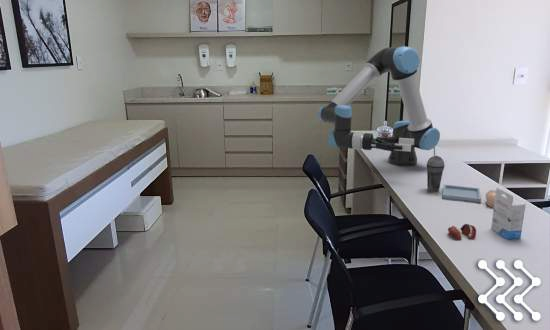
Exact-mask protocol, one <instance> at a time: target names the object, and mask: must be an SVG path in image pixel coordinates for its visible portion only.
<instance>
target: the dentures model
mask: <svg viewBox="0 0 550 330" xmlns="http://www.w3.org/2000/svg"><path fill="white" fill-rule="evenodd" d="M447 231H448V232H447V233H448V234H449V235H451V236H452V237H453V238H454V239H456V240H457V241H460V240H462V237H463V234H464V235H467V236H468V238H469V239H472V240H475V238H476V236H477V229H476V227H475V226H474V225H471V224H469V223H464V224H463V225H462V226H461V227H460V228H459V227H458V226H456V225H454V224H453V225H452V226H450V227H448V229H447Z"/></svg>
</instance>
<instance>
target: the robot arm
mask: <svg viewBox="0 0 550 330" xmlns="http://www.w3.org/2000/svg"><path fill="white" fill-rule="evenodd" d="M419 64H420V56H419V53H418V51H417V50H416V49H415V48H413V47H410V46H405V45H403V46H395V47H392V46H390V47H385V48H383V49H381V50H378V51H377V52H376V53H375V54H374V55H372V56H371V57H370V58H369V59H368V60H367V61H366V62H365V63H364V65H363V66H364V67H363V68H362V69H361V70H360V72H359V73H358V74H356V76H355V77H353V78H352V80H351V81H349V82H348V84H347V85H346V86H345V87H343V88H342V90H341V91H340V92H339V93H338V94H336V96H335V97H334V98H333V99H332V100H331V101H330V102H329V103H328V104H327V105H324V106H321V107H319V109H318V110H317V116H318V119H319V120H320V121H322V122H324V123H329V124H332V125H333V126H334V129H333V130H331V131H330V132H329V136H328V144H329V146H330V147H332V148H338V149H352V150H353V149H354V150H355V151H358V150H362V149H363V151H364V150H366V151H372V150H373V149H377V150H383V151H388V152H390V153H389V156H388V163H389V164H392V165H395V166H406V167H407V166H415V165H417V164H418V157H417V153H416V149H419V150H421V151H423V150H424V151H432V150H434V146H435V147H436V146H437V145H438V144H439V141H440V140H441V133H440V130H439V129H438V128H436V127H433V122H432V120H431V119H430V118H428V117H427V114H426V109H425V107H424V103H423V99H422V96H421V92H420V89H419V86H418V82H417V78H416V74H417V72H418V67H420V65H419ZM385 73H386V74H387V73H390V76H391V79H392V81H394V82H396V83H397V87H398V90H399V94H400V96H401V97H400V98H401V100H402V103H403V106H404V110H405V113H406V116H407V120H400V121H399V120H398V121H395V122H394V124H393V129H392V130H393V131H392V136H376V138H374V134H373V133H370V132H369V133H366V132H365V133H363V132H356V131H351V130H352V118H353V117H352V116H353V113H352V106H350V105H351V104H352V103H353V102H354V100H356V99H357V97H359V96H360V94H361V93H362V92H363V91H364V90H365V89H366V88H367V87H368V86H370V85H371V83H372V82H373V81H374V80H375V79H379V78H380V77H381V76H382V75H384V74H385ZM415 148H416V149H415Z"/></svg>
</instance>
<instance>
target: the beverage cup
mask: <svg viewBox="0 0 550 330" xmlns="http://www.w3.org/2000/svg"><path fill="white" fill-rule="evenodd" d="M444 170H445V161H444V159H443V158H442V157H440V156H438V155H436V146H434V148H433V156H431V157H429V158H428V160H427V161H426V171H427V172H426V173H427V175H426V176H427V178H426V179H427V180H426V181H427V184H426V185H427V192H430V193H433V194H434V193H435V194H437V193H439V190H440V188H441V181H442V177H443V172H444Z"/></svg>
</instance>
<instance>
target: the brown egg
mask: <svg viewBox="0 0 550 330" xmlns="http://www.w3.org/2000/svg"><path fill="white" fill-rule="evenodd" d="M495 197H496V190H493V189H491V190H488V191H486V194H485V200H486V204H487V206H488V207H489V208H490V209H491V208H492V209H494V202H495Z"/></svg>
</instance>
